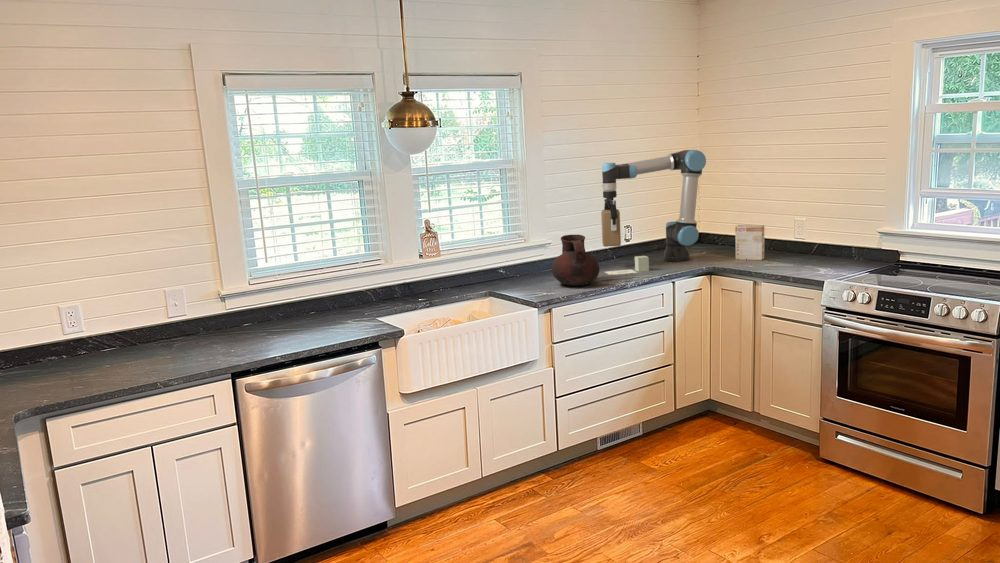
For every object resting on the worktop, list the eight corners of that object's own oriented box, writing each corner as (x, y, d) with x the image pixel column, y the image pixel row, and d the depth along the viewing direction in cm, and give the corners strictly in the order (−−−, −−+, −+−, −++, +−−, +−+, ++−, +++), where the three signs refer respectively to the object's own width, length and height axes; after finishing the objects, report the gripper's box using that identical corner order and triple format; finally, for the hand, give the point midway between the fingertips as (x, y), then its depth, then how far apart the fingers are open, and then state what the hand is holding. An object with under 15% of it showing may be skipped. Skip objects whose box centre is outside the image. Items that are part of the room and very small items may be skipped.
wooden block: (619, 243, 426) (618, 208, 422) (620, 246, 416) (619, 210, 412) (602, 244, 427) (601, 209, 423) (603, 247, 417) (601, 211, 413)
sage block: (645, 269, 417) (644, 255, 415) (649, 271, 411) (648, 257, 409) (635, 270, 416) (634, 256, 414) (638, 272, 410) (638, 258, 408)
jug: (552, 290, 375) (550, 241, 371) (551, 281, 400) (549, 235, 395) (602, 287, 374) (600, 238, 369) (598, 278, 399) (596, 232, 394)
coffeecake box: (764, 258, 429) (764, 224, 425) (761, 260, 423) (762, 226, 419) (738, 257, 436) (738, 224, 433) (735, 259, 430) (735, 226, 427)
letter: (631, 269, 418) (631, 269, 418) (637, 273, 407) (637, 272, 407) (604, 272, 416) (603, 271, 416) (609, 275, 405) (609, 275, 405)
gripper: (597, 189, 426) (598, 227, 430) (609, 192, 404) (610, 232, 408) (610, 189, 427) (611, 226, 431) (622, 191, 405) (623, 231, 409)
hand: (611, 229), depth 420 cm, fingers closed on wooden block, 11 cm apart
